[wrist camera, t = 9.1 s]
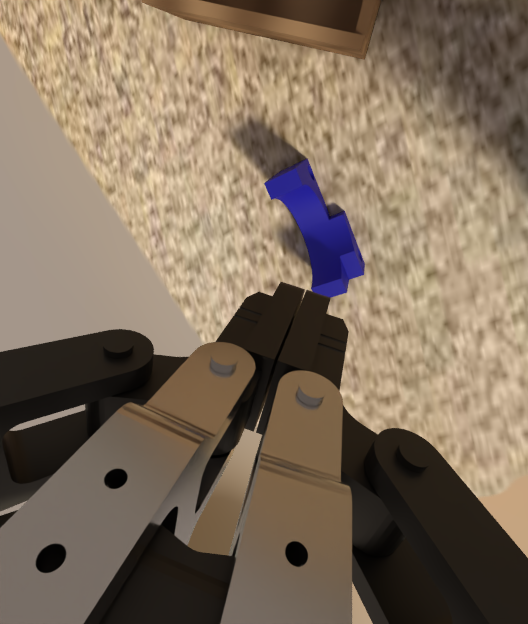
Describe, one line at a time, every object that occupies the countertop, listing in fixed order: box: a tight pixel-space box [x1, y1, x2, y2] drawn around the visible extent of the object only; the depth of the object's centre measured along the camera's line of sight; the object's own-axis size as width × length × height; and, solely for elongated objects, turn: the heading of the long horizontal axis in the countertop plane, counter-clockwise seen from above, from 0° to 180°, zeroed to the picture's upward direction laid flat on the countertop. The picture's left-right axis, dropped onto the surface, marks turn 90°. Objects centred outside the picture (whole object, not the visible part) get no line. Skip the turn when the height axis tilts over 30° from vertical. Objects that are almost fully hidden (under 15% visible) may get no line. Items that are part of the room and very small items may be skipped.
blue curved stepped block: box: [264, 159, 365, 297], centre depth 36 cm, size 12×4×6 cm, turn 27°
